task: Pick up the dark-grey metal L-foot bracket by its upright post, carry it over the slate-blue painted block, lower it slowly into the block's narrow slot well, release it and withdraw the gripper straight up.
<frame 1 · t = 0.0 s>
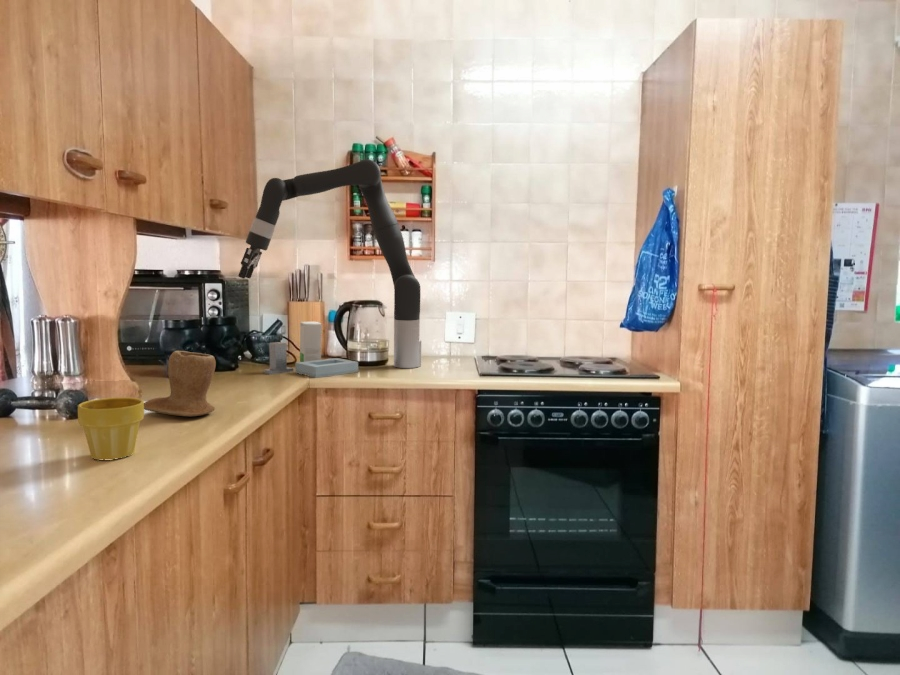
hand: (244, 277, 202), 31 cm above the countertop, tool tilted 20°, fingers open, 8 cm apart
brown hat-shaped piece: (184, 414, 137), on the countertop
skincare box: (310, 364, 214), on the countertop
bracket: (278, 372, 195), on the countertop
plant pot: (113, 456, 105), on the countertop
well block: (327, 372, 197), on the countertop
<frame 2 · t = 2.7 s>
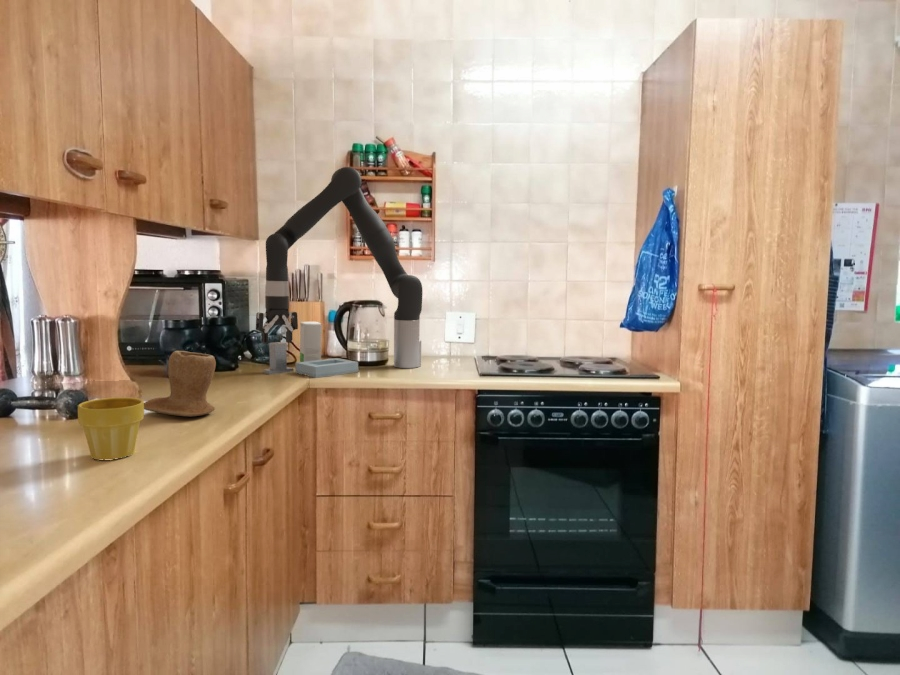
hand: (277, 343, 194), 10 cm above the countertop, tool pointing down, fingers open, 8 cm apart
nothing on the countertop moved.
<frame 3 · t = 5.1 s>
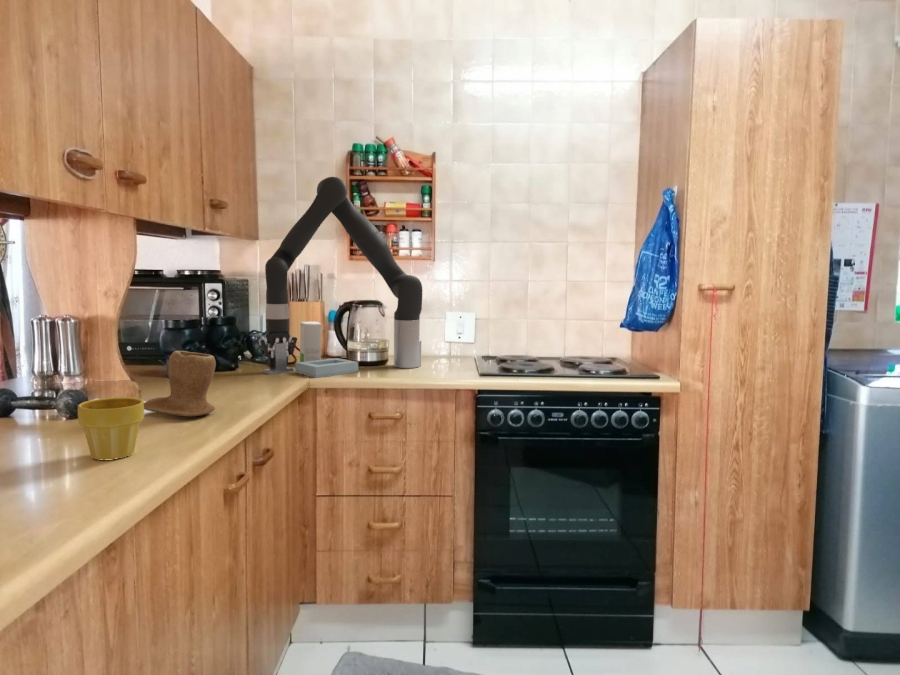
hand: (278, 367, 195), 2 cm above the countertop, tool pointing down, fingers closed on bracket, 4 cm apart
bracket: (278, 372, 195), on the countertop, touching gripper
everything else where it was.
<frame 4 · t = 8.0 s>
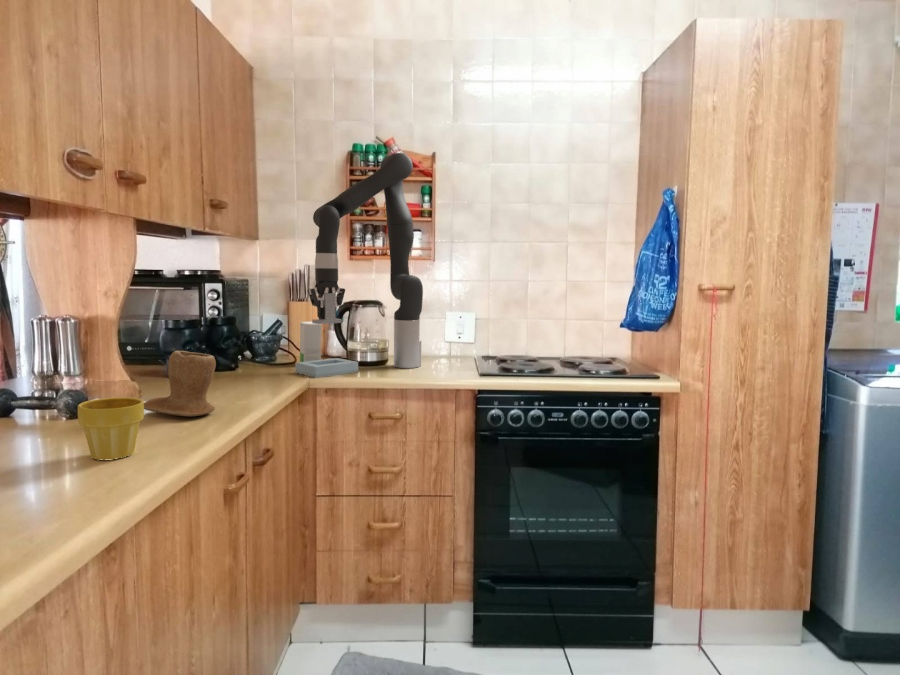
hand: (327, 318, 195), 18 cm above the countertop, tool pointing down, fingers closed on bracket, 4 cm apart
bracket: (327, 322, 195), point 17 cm above the countertop, touching gripper
everything else where it was.
when the fingers open (4 cm above the countertop, at t = 11.1 s): bracket drops 1 cm, resting on well block.
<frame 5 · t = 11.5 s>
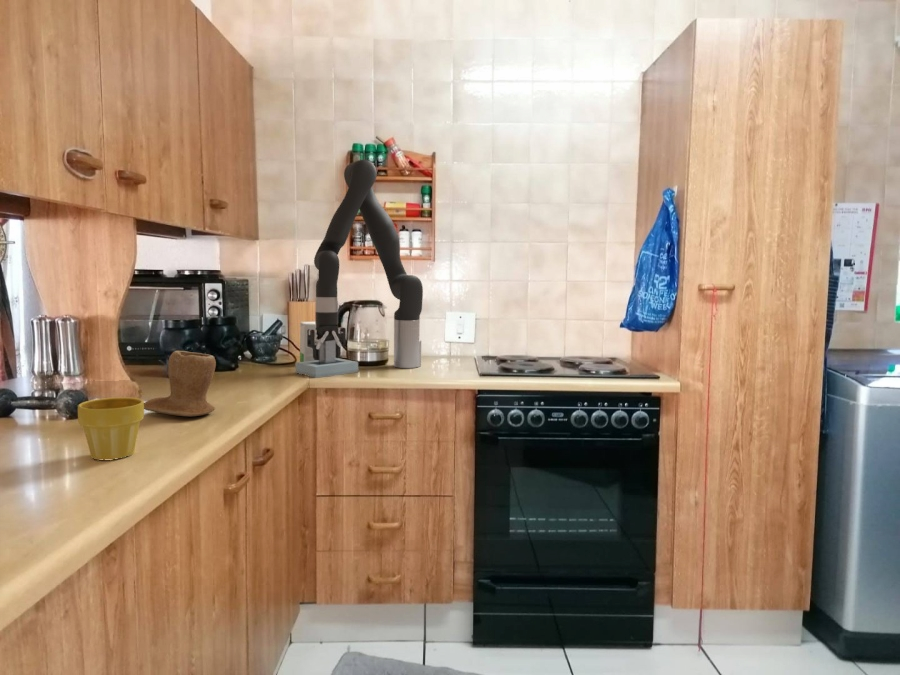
hand: (327, 358, 196), 5 cm above the countertop, tool pointing down, fingers open, 7 cm apart
bracket: (327, 369, 196), point 1 cm above the countertop, touching well block
everything else where it was.
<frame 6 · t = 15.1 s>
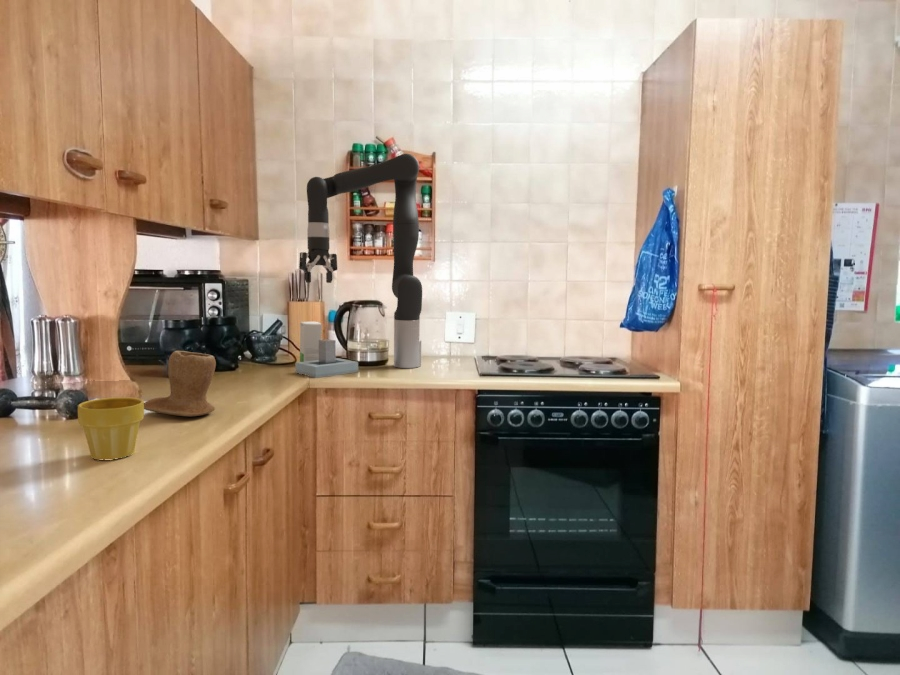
hand: (318, 282, 205), 30 cm above the countertop, tool pointing down, fingers open, 8 cm apart
nothing on the countertop moved.
at the end: bracket 0.0 cm off-centre on the well block, point 1.0 cm above the well block's base; bracket tilted 0°; the gripper is holding nothing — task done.
